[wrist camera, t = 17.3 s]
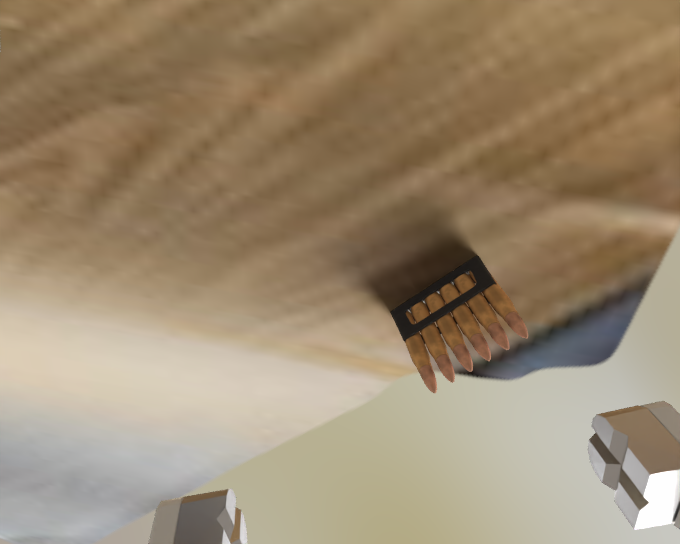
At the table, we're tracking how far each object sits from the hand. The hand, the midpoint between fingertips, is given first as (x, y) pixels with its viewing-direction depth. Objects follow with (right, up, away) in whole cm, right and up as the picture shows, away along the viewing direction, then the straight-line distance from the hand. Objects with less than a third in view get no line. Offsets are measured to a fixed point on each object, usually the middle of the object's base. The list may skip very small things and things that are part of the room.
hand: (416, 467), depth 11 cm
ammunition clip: (+8, +3, +40) cm, 41 cm away
